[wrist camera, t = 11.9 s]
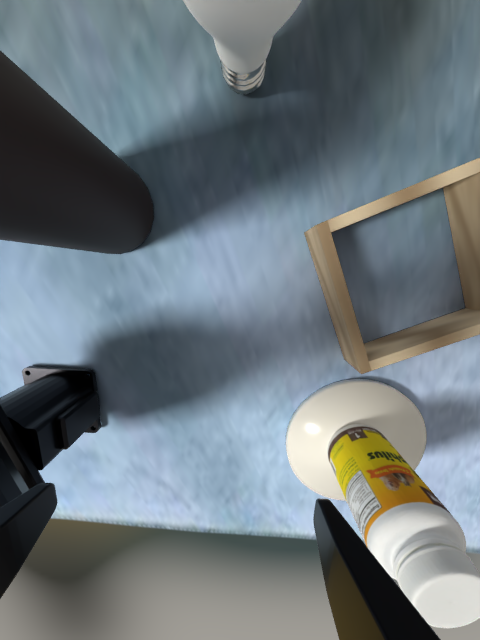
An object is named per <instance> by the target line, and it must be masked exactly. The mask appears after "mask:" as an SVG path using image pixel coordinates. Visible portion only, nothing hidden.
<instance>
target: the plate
mask: <svg viewBox="0 0 480 640" xmlns="http://www.w3.org/2000/svg"><path fill="white" fill-rule="evenodd" d="M353 424H363V425H368V426H371V427H373V428H375V429H377V430H378V431H380V432H381V433H382V434H383V435H384V436H385V437H386V439H387V440H388V441H389V442H390V443H391V444H392V446H393V447H394V448H395V449H396V450H397V451H398V453H399V454H400V455H401V456H402V457H403V458H404V460H405V461H406V462H407V463H408V464H409V465H410V467H411V468H412V469H413V470H415V469H416V467H417V466H418V464H419V463H420V461H421V459H422V456H423V453H424V451H425V446H426V427H425V423H424V420H423V417H422V415H421V413H420V411H419V410H418V409H417V407H416V406H415V405H414V404H413V403H412V402H411V401H410V400H409V399H408V398H407V397H406V396H404V395H403V394H402V393H401V392H399V391H398V390H397V389H395V388H393V387H391V386H389V385H387V384H384V383H382V382H378V381H374V380H368V379H349V380H343V381H339V382H335V383H332V384H329V385H327V386H325V387H323V388H321V389H319V390H317V391H316V392H314V393H313V394H311V395H310V396H309V397H307V398H306V399H305V400H304V401H303V402H302V403H301V404H300V405H299V406H298V408H297V409H296V411H295V412H294V414H293V415H292V417H291V419H290V421H289V424H288V427H287V432H286V451H287V455H288V459H289V462H290V465H291V467H292V470H293V472H294V473H295V475H296V476H297V477H298V479H299V480H300V481H301V482H302V483H303V484H304V485H305V486H307V487H308V488H309V489H311V490H312V491H314V492H316V493H318V494H320V495H322V496H325V497H328V498H332V499H336V500H344V501H346V499H345V497H344V494H343V492H342V490H341V487H340V485H339V483H338V481H337V478H336V476H335V474H334V471H333V469H332V467H331V465H330V462H329V459H328V455H327V448H328V444H329V441H330V439H331V438H332V436H333V435H334V434H335V433H336V432H337V431H339V430H340V429H342V428H344V427H346V426H349V425H353Z"/></svg>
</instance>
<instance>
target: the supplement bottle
mask: <svg viewBox="0 0 480 640" xmlns="http://www.w3.org/2000/svg"><path fill="white" fill-rule="evenodd" d="M327 455H328V459H329V462H330V465H331V467H332V469H333V471H334V474H335V476H336V478H337V481H338V483H339V485H340V487H341V490H342V492H343V494H344V497H345V499H346V501H347V503H348V505H349V508H350V510H351V512H352V514H353V517H354V519H355V521H356V523H357V526H358V528H359V530H360V532H361V535H362V537H363V539H364V541H365V544H366V546H367V548H368V549H369V550H370V551H371V553H372V554H373V555H374V556H375V558H376V559H377V560H378V561H379V563H380V564H381V565H382V567H383V568H384V569H385V570H386V572H387V573H388V574H389V575H390V577H392V578H394V579H396V580H397V581H398V583H399V586H400V588H401V589H402V591H403V592H404V594H405V595H406V597H407V598H408V599H409V601H410V602H411V603H412V604H413V606H414V607H415V608H416V609H417V611H418V612H419V613H420V614H421V616H422V617H423V618H424V619H425V621H426V622H427V623H428V624H429V625H431V626H434V627H439V628H455V627H461V626H464V625H467V624H470V623H472V622H474V621H476V620H477V619H479V618H480V572H479V571H478V569H477V568H476V567H475V565H474V564H473V562H472V560H471V559H470V557H469V556H468V555H467V554H465V551H466V540H465V536H464V533H463V531H462V529H461V527H460V525H459V524H458V522H457V521H456V520H455V519H454V517H453V516H452V515H451V514H450V512H449V511H448V510H447V509H446V508H445V507H444V505H443V504H442V503H441V502H440V501H439V500H438V498H437V497H436V496H435V495H434V494H433V493H432V491H431V490H430V489H429V488H428V487H427V486H426V484H425V483H424V482H423V481H422V480H421V478H420V477H419V476H418V475H417V474H416V473H415V471H414V470H413V469H412V468H411V467H410V465H409V464H408V463H407V462H406V461H405V460H404V458H403V457H402V456H401V455H400V454H399V453H398V451H397V450H396V449H395V448H394V447H393V446H392V444H391V443H390V442H389V441H388V440H387V439H386V437H385V436H384V435H383V434H382V433H381V432H380V431H378V430H377V429H375V428H373V427H371V426H368V425H363V424H353V425H349V426H346V427H344V428H342V429H340V430H339V431H337V432H336V433H335V434H334V435H333V436H332V438H331V439H330V441H329V444H328V448H327Z"/></svg>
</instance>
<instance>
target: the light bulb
mask: <svg viewBox="0 0 480 640" xmlns="http://www.w3.org/2000/svg"><path fill="white" fill-rule="evenodd" d="M301 1H302V0H184V2H185V4H186V6H187V8H188V10H189V11H190V12H191V14H192V15H193V16H194V18H195V19H196V20H197V21H198V23H199V24H200V25H201V26H202V27H203V28H204V29H205V30H206V31H207V32H208V33H209V34H210V35H211V36H212V37H213V38H214V42H215V46H216V49H217V52H218V55H219V57H220V59H221V60H220V62H221V69H222V74H223V78H224V79H225V81H226V83H227V84H228V86H229V87H230V89H232V90H233V91H234V92H236V93H238V94H244V95H245V94H248V93H251V92H253V91H255V90H256V89H258V88H259V87H260V86H261V84H262V81H263V79H264V77H265V70H266V62H267V56H268V54H269V51H270V48H271V45H272V40H273V36H274V35H275V34H276V33H277V32H278V31H279V29H280V28H281V27H282V26H283V25H284V24H285V23H286V22H287V20H288V19H289V18H290V17H291V16H292V15H293V13H294V12H295V11H296V9H297V7H298V6H299V4H300V2H301Z"/></svg>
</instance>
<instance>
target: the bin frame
mask: <svg viewBox="0 0 480 640" xmlns="http://www.w3.org/2000/svg"><path fill="white" fill-rule="evenodd" d="M441 188H443V190H444V195H445V201H446V206H447V211H448V217H449V222H450V228H451V233H452V238H453V244H454V249H455V254H456V260H457V265H458V270H459V276H460V281H461V286H462V292H463V297H464V302H465V308H464V309H461V310H458V311H456V312H453V313H450V314H447V315H444V316H441V317H438V318H436V319H433V320H430V321H427V322H424V323H421V324H418V325H416V326H413V327H410V328H407V329H404V330H401V331H398V332H396V333H393V334H390V335H387V336H384V337H381V338H378V339H376V340H373V341H370V342H367V343H363V340H362V337H361V333H360V330H359V326H358V323H357V320H356V316H355V313H354V309H353V306H352V302H351V299H350V296H349V292H348V289H347V285H346V282H345V279H344V275H343V272H342V268H341V265H340V261H339V258H338V255H337V251H336V248H335V244H334V241H333V238H332V234H331V233H332V232H334V231H337V230H339V229H342V228H344V227H347V226H349V225H352V224H354V223H357V222H359V221H362V220H364V219H366V218H369V217H371V216H374V215H376V214H379V213H381V212H384V211H386V210H389V209H391V208H394V207H396V206H399V205H401V204H403V203H406V202H408V201H411V200H413V199H416V198H418V197H421V196H423V195H426V194H428V193H431V192H433V191H436V190H438V189H441ZM304 234H305V237H306V240H307V243H308V246H309V249H310V252H311V256H312V259H313V262H314V265H315V268H316V271H317V275H318V278H319V281H320V284H321V287H322V290H323V294H324V297H325V300H326V303H327V306H328V309H329V313H330V316H331V319H332V322H333V325H334V328H335V332H336V335H337V338H338V341H339V344H340V347H341V350H342V354H343V357H344V359H345V360H346V361H347V362H348V363H349V364H350V365H351V366H353V367H354V368H355V369H356V370H357V371H358V372H359V373H361V374H363V373H366V372H369V371H372V370H375V369H378V368H381V367H384V366H387V365H390V364H393V363H396V362H399V361H402V360H405V359H408V358H411V357H414V356H417V355H420V354H423V353H426V352H429V351H432V350H434V349H437V348H440V347H443V346H446V345H449V344H452V343H455V342H458V341H461V340H464V339H467V338H470V337H473V336H476V335H479V334H480V158H478V159H475V160H473V161H471V162H468V163H466V164H463V165H461V166H458V167H456V168H454V169H451V170H449V171H446V172H444V173H441V174H439V175H437V176H434V177H432V178H429V179H427V180H424V181H422V182H420V183H417V184H415V185H412V186H410V187H407V188H405V189H403V190H400V191H398V192H395V193H393V194H390V195H388V196H386V197H383V198H381V199H378V200H376V201H373V202H371V203H369V204H366V205H364V206H361V207H359V208H356V209H354V210H352V211H349V212H347V213H344V214H342V215H339V216H337V217H335V218H332V219H330V220H327V221H325V222H322V223H320V224H318V225H315V226H314V227H312V228H311V229H309V230H308V231H306V232H305V233H304Z"/></svg>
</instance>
